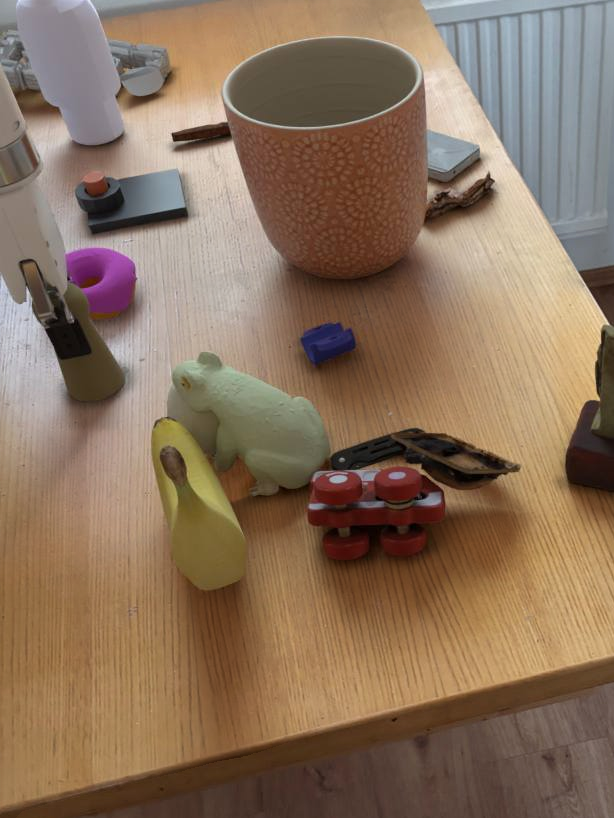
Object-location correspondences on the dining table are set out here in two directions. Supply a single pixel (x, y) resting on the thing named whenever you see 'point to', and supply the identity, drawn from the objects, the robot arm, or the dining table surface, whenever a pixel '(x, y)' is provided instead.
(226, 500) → the banana
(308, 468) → the figurine
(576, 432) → the small statue on base
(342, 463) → the folding knife
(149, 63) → the architectural model
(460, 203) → the tree bark
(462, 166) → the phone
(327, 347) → the bracket
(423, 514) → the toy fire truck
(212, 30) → the dining table surface
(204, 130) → the kitchen knife
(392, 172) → the planter
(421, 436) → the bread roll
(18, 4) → the soap bottle
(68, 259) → the donut
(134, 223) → the push button panel
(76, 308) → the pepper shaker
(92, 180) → the button
